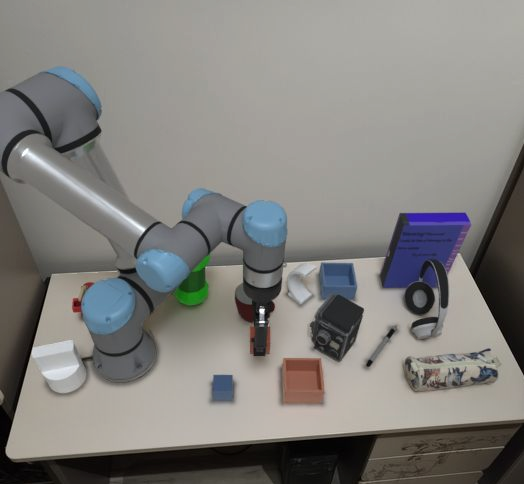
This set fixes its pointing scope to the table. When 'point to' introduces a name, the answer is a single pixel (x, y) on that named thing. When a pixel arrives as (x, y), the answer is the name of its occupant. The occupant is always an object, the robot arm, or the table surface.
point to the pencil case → (451, 370)
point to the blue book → (422, 246)
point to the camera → (336, 326)
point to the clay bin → (302, 380)
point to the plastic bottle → (194, 285)
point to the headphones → (428, 301)
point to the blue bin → (337, 280)
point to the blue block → (222, 387)
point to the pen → (381, 346)
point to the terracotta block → (252, 335)
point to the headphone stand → (299, 282)
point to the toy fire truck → (80, 297)
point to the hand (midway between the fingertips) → (259, 345)
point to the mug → (245, 304)
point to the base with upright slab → (60, 365)
